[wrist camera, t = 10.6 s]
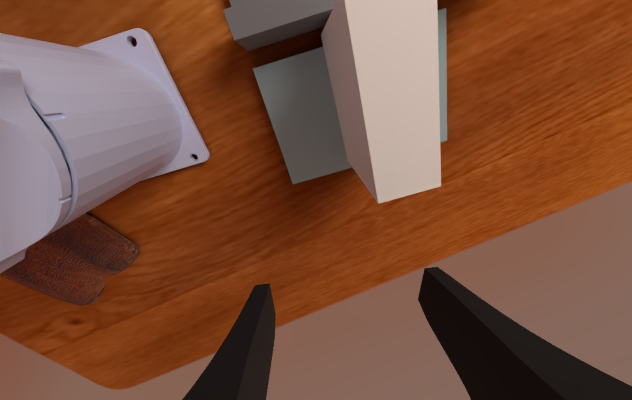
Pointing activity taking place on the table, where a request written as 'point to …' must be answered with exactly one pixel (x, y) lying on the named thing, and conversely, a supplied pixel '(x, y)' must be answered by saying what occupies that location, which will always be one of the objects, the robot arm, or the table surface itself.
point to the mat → (319, 110)
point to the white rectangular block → (387, 92)
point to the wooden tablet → (74, 261)
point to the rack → (274, 20)
